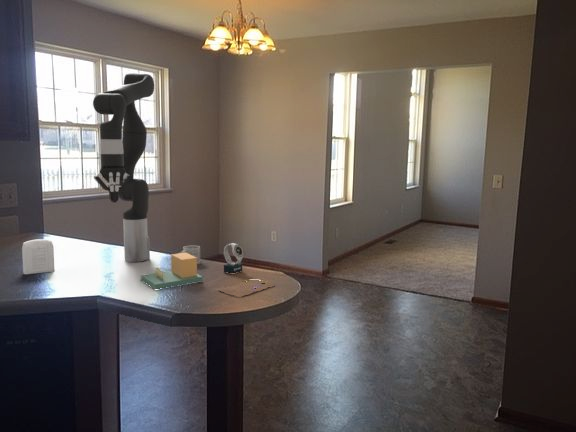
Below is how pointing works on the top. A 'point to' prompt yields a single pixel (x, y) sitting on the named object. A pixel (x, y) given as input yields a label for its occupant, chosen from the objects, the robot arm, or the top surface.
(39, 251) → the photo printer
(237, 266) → the watch
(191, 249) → the mug
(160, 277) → the header board
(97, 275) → the top surface
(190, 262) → the block
